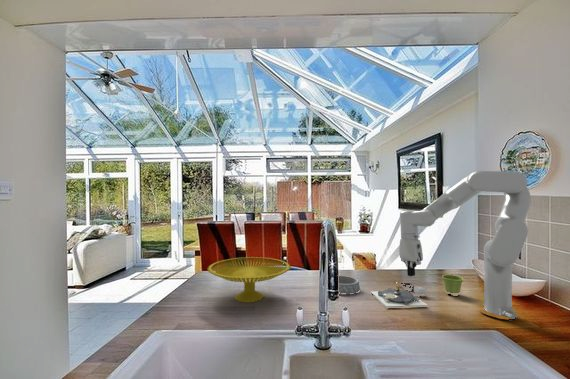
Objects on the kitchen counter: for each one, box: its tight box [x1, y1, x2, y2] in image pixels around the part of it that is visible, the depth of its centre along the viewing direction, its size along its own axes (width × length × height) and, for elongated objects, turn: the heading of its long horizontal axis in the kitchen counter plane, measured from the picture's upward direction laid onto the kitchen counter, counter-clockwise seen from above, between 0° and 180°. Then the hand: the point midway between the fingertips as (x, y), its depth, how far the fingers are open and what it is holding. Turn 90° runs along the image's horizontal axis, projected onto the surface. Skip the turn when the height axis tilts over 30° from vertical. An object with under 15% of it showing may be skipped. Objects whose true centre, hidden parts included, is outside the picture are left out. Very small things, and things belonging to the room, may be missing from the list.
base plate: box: [370, 290, 428, 308], centre depth 143 cm, size 19×19×1 cm
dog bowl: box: [338, 275, 361, 294], centre depth 159 cm, size 17×18×5 cm
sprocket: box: [377, 281, 419, 304], centre depth 143 cm, size 18×17×6 cm
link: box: [413, 285, 427, 295], centre depth 149 cm, size 4×4×4 cm
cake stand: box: [207, 256, 292, 303], centre depth 147 cm, size 40×40×15 cm
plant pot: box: [441, 274, 464, 293], centre depth 151 cm, size 9×9×9 cm
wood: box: [401, 282, 415, 289], centre depth 166 cm, size 22×7×3 cm, turn 176°
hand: (411, 275), depth 142 cm, fingers closed
